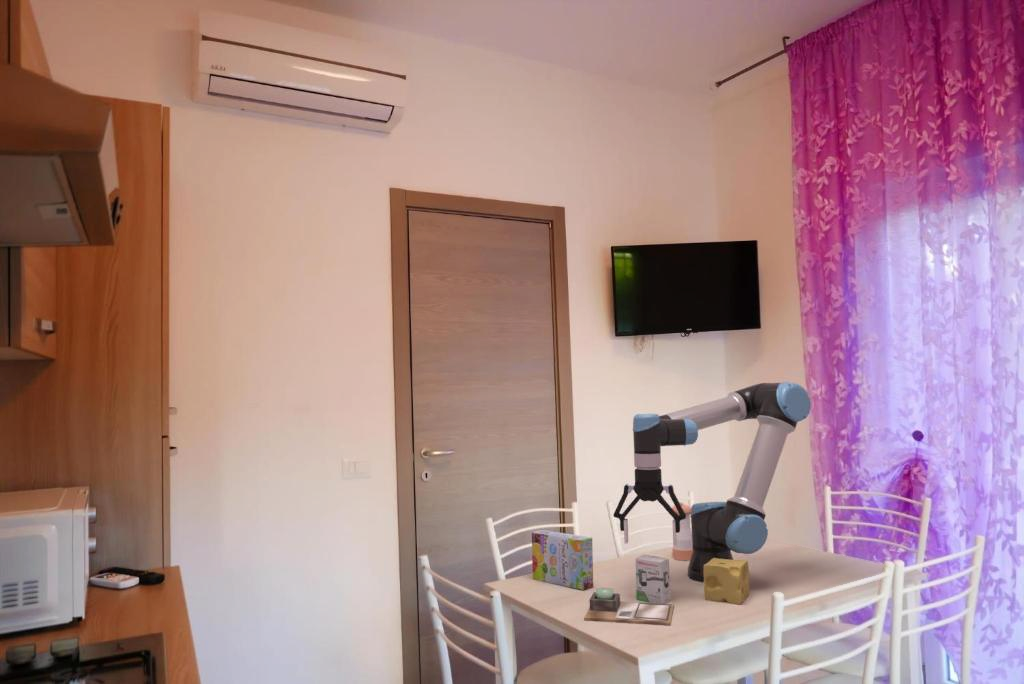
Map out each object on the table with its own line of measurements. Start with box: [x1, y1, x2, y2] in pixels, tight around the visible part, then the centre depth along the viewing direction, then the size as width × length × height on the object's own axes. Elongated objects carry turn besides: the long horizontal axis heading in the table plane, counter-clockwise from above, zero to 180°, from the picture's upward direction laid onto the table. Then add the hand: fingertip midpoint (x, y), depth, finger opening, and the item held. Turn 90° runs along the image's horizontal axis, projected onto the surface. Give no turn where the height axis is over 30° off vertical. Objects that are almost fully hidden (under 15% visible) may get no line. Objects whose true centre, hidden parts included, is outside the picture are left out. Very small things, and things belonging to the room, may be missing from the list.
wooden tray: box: [583, 592, 675, 626], centre depth 192 cm, size 22×16×3 cm
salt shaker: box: [671, 502, 693, 561], centre depth 251 cm, size 7×7×19 cm
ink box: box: [635, 554, 671, 604], centre depth 204 cm, size 9×5×12 cm, turn 50°
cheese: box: [703, 558, 750, 606], centre depth 204 cm, size 10×11×10 cm
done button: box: [596, 587, 614, 600], centre depth 196 cm, size 4×4×3 cm
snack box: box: [531, 529, 594, 591], centre depth 224 cm, size 21×6×15 cm, turn 45°
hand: (650, 543), depth 204 cm, fingers open, 13 cm apart
